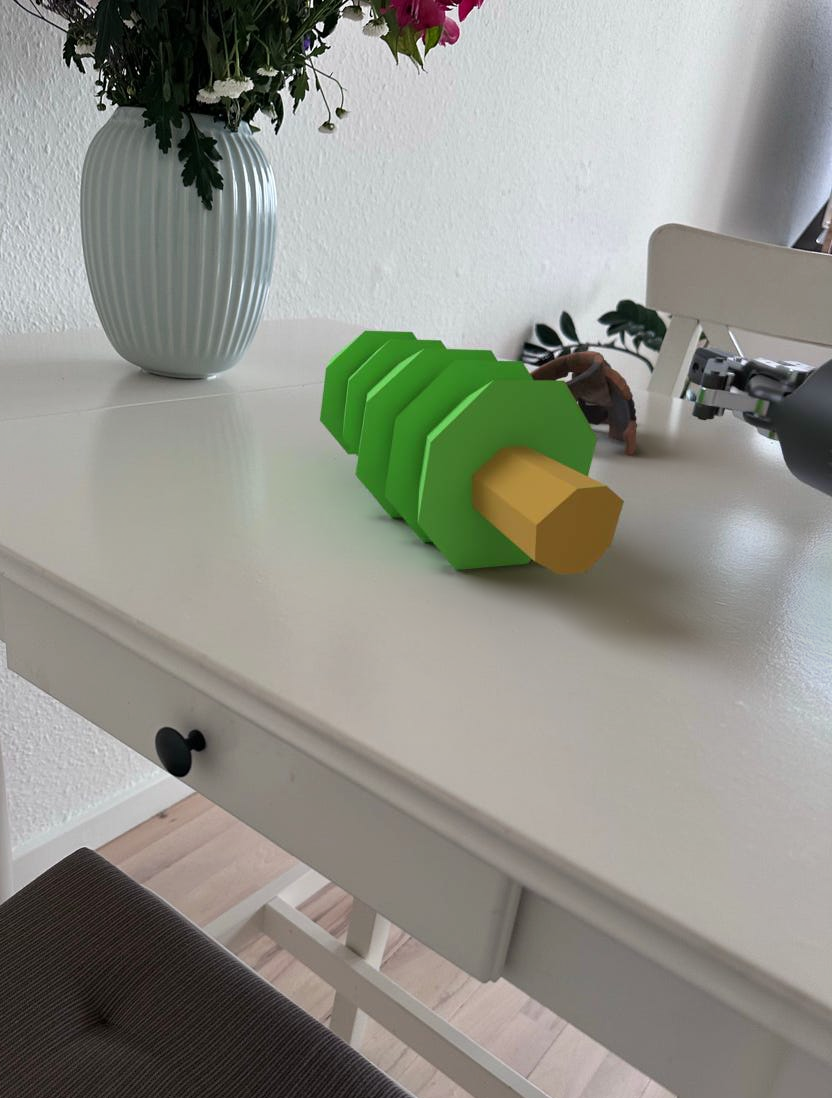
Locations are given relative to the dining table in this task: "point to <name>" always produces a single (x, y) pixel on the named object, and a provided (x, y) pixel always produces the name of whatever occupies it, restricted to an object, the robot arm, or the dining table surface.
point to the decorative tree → (471, 452)
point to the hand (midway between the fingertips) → (701, 363)
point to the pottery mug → (596, 392)
